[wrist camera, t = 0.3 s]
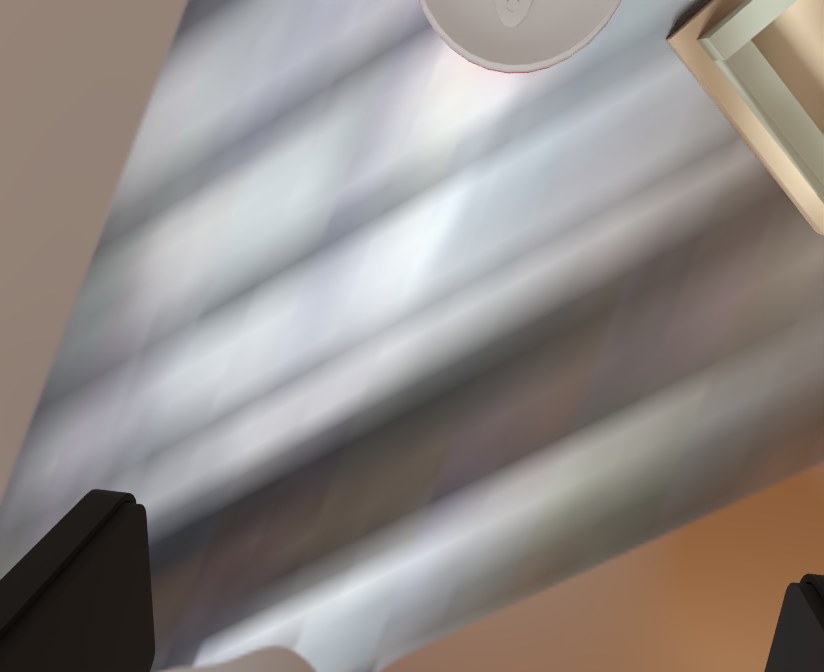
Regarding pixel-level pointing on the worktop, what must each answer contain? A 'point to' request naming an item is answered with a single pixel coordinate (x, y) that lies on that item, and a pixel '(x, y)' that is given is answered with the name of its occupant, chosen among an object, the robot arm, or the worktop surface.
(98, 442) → the worktop surface
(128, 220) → the worktop surface
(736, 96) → the beige shallow tray
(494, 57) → the canned food
